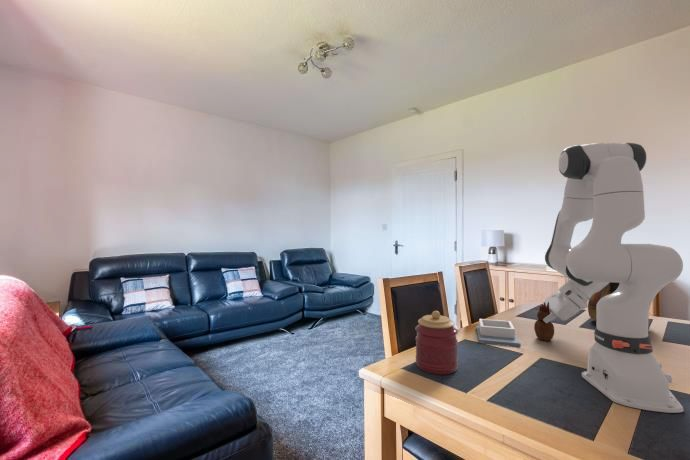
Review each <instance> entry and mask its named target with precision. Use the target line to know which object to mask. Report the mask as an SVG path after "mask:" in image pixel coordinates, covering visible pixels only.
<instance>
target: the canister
mask: <svg viewBox="0 0 690 460" xmlns="http://www.w3.org/2000/svg"><path fill="white" fill-rule="evenodd" d="M417 323H418V324H417V325H416V326H415V331H416V336H415V351H416V352H415V362H416V363H415V364H416V366H417V368H419V370H422V372H426V373H429V374H433V375H449V374H453V373H454V372H456V371H457V370H458V366H459V363H458V362H459V360H458V343H459V342H458V339H457V334H458V333H459V332H458V329H457V328H456V327H455V324H456V323H455V321H453V320H452V319H450V317H448V316H445V315H441V313H440V312H439V311H438V310H433V311H432V312H431V314H426V315H423V316H422V317H421V318H419V319H418V320H417Z"/></svg>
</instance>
